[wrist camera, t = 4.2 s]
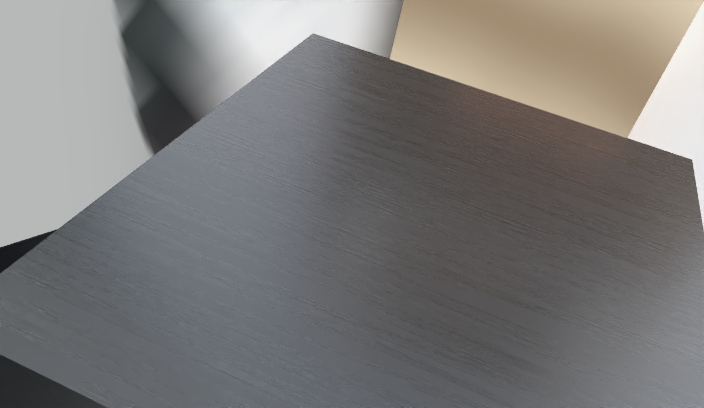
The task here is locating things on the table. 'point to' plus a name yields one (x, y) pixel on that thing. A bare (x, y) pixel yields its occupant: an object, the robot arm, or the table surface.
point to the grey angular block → (369, 259)
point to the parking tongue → (550, 51)
